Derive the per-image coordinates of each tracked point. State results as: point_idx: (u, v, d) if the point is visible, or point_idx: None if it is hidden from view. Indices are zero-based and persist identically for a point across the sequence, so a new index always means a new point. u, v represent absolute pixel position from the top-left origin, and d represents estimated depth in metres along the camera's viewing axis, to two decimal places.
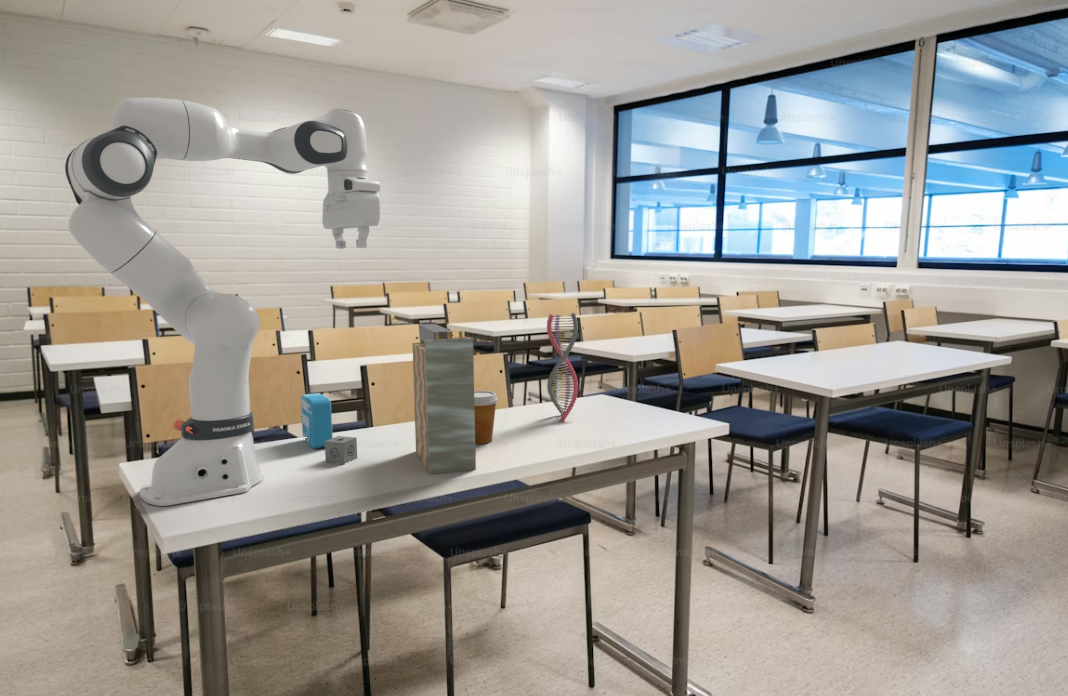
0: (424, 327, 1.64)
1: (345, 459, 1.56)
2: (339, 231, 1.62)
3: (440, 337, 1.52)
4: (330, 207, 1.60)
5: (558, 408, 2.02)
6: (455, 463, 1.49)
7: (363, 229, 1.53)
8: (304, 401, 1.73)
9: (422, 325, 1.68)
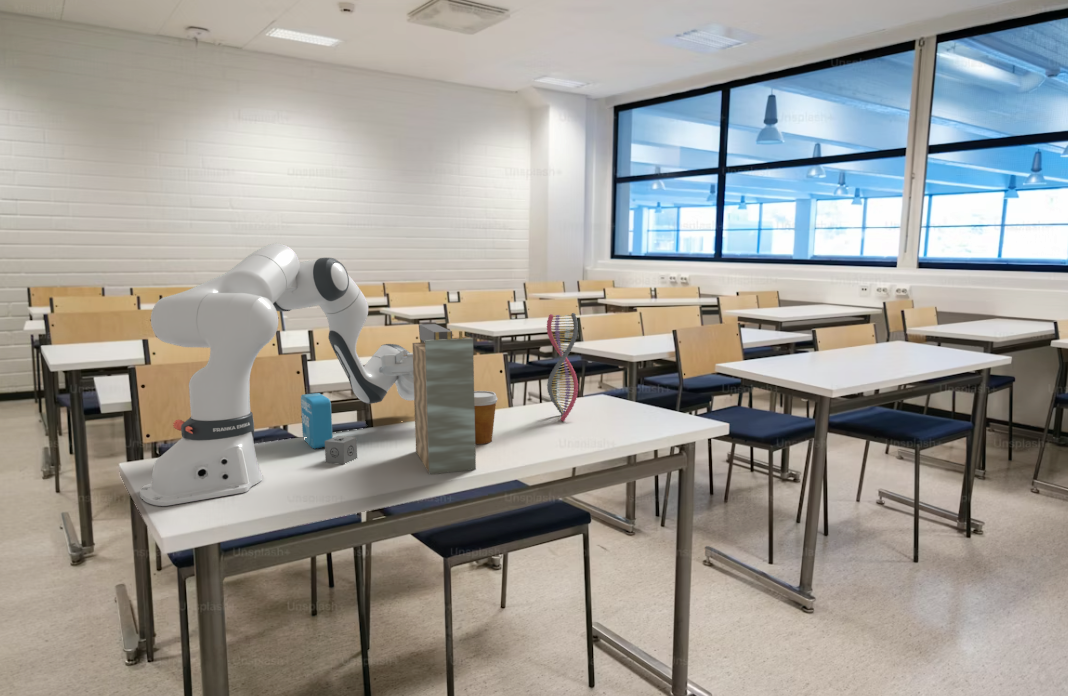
0: (424, 327, 1.64)
1: (345, 459, 1.56)
2: None
3: (440, 337, 1.52)
4: None
5: (558, 408, 2.02)
6: (455, 463, 1.49)
7: None
8: (304, 401, 1.73)
9: (422, 325, 1.68)
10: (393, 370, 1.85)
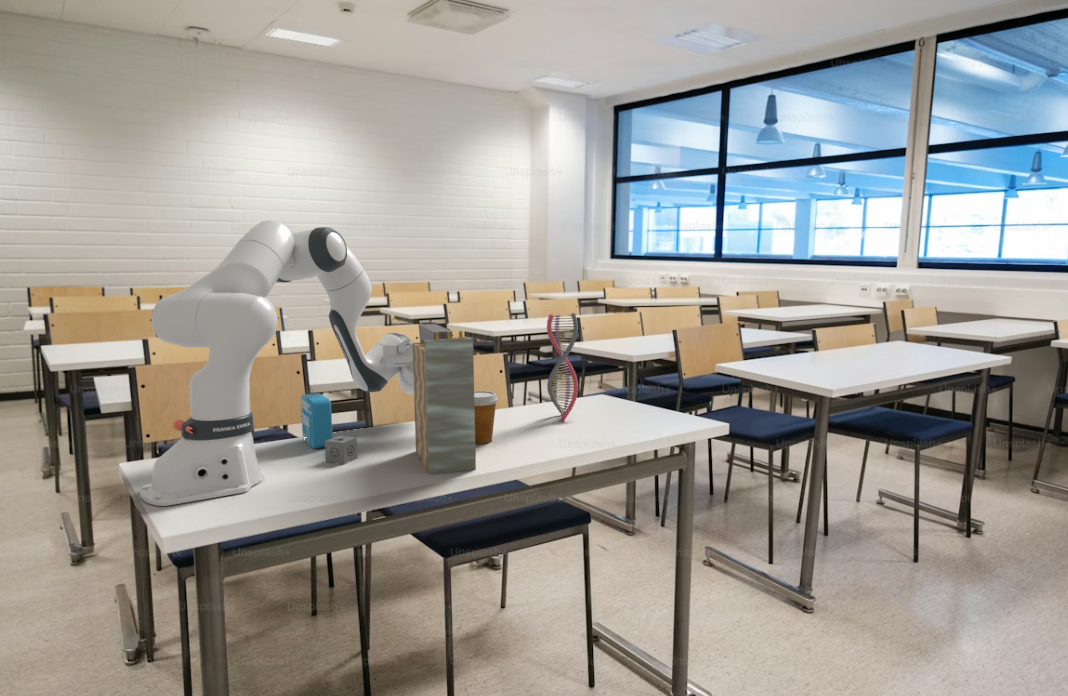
0: (424, 327, 1.64)
1: (345, 459, 1.56)
2: None
3: (440, 337, 1.52)
4: None
5: (558, 408, 2.02)
6: (455, 463, 1.49)
7: None
8: (304, 401, 1.73)
9: (422, 325, 1.68)
10: (395, 361, 1.78)
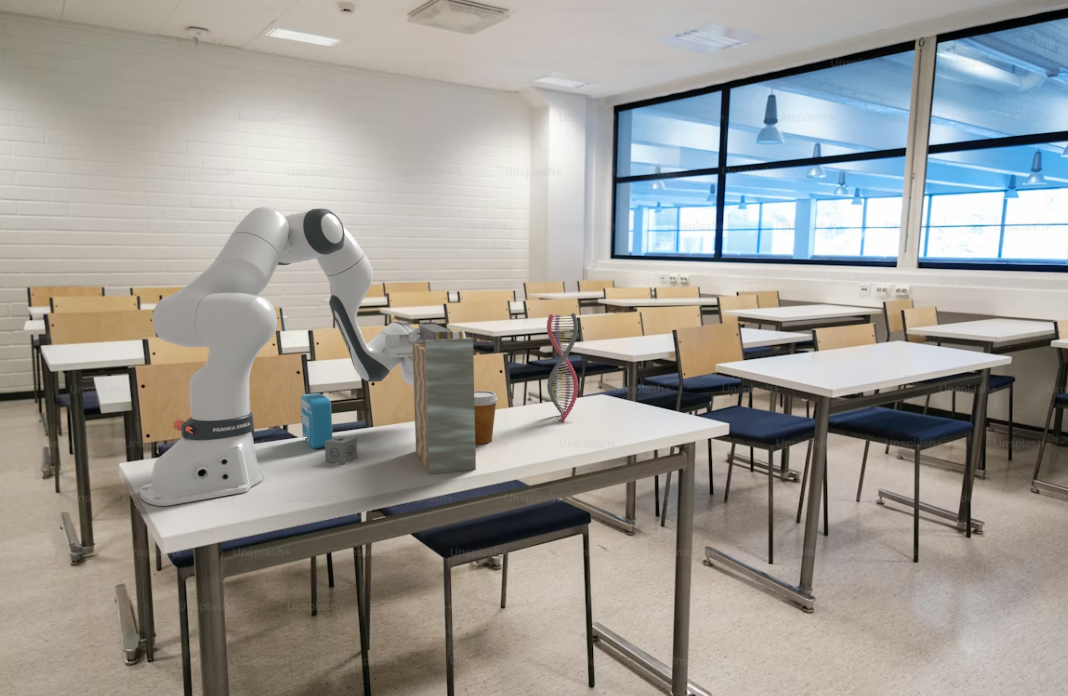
0: (424, 327, 1.64)
1: (345, 459, 1.56)
2: None
3: (440, 337, 1.52)
4: None
5: (558, 408, 2.02)
6: (455, 463, 1.49)
7: None
8: (304, 401, 1.73)
9: (422, 325, 1.68)
10: (397, 351, 1.73)
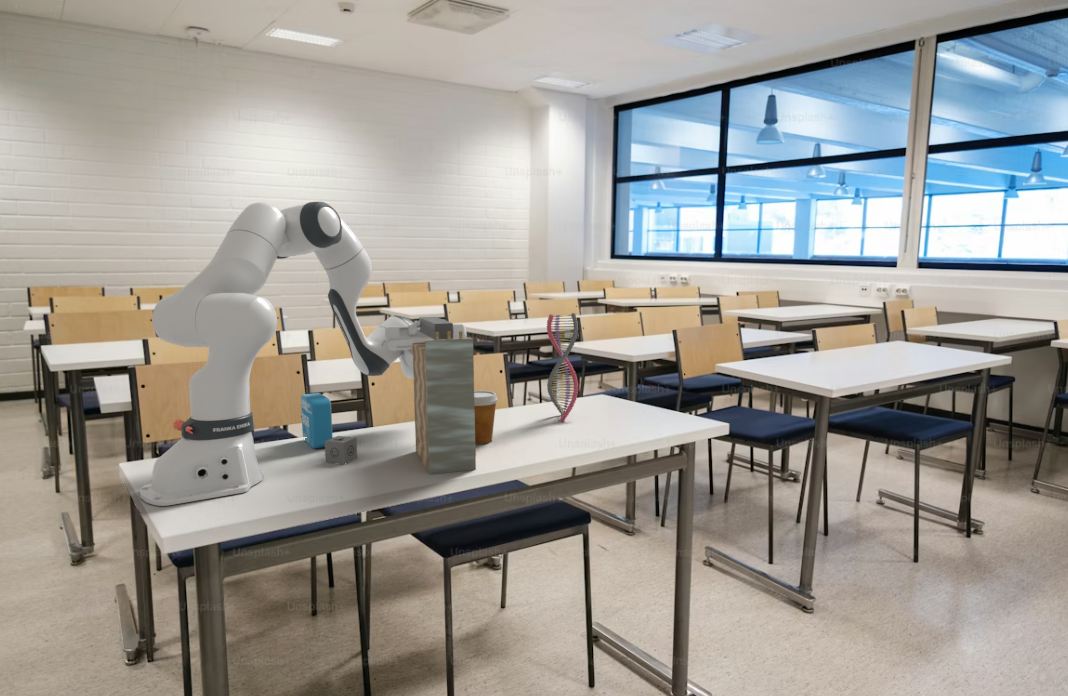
0: (424, 319, 1.63)
1: (345, 459, 1.56)
2: None
3: (441, 329, 1.51)
4: None
5: (558, 408, 2.02)
6: (455, 463, 1.49)
7: None
8: (304, 401, 1.73)
9: (422, 318, 1.67)
10: (397, 344, 1.72)
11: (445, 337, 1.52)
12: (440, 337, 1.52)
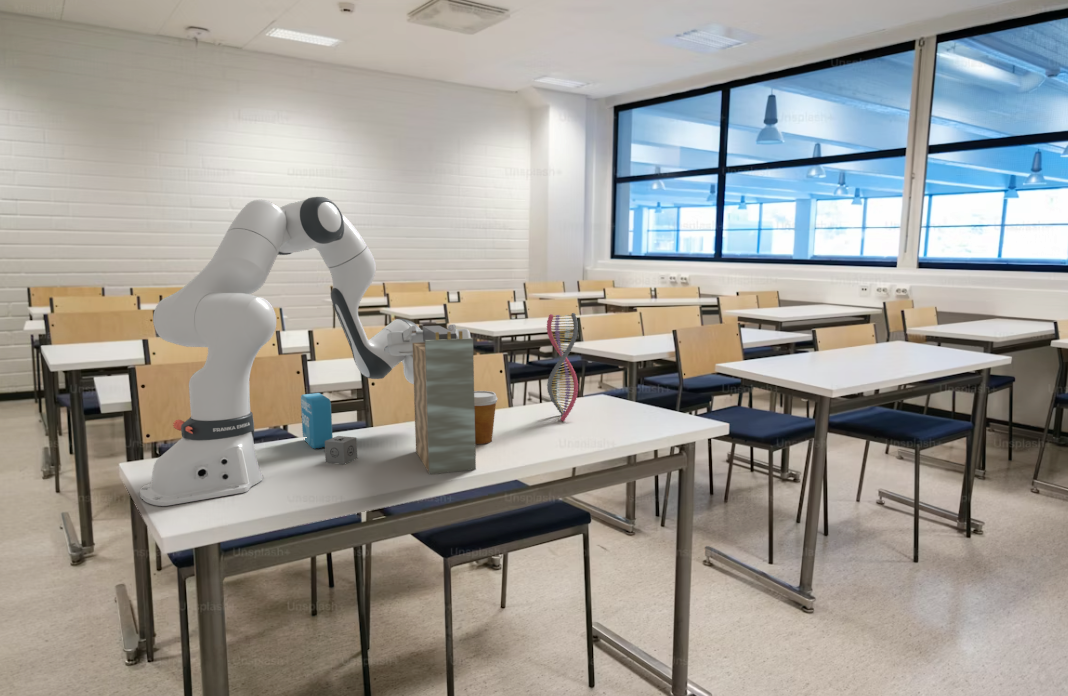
0: (427, 329, 1.59)
1: (345, 459, 1.56)
2: None
3: None
4: None
5: (558, 408, 2.02)
6: (455, 463, 1.49)
7: None
8: (304, 401, 1.73)
9: (425, 327, 1.64)
10: (400, 349, 1.68)
11: None
12: None
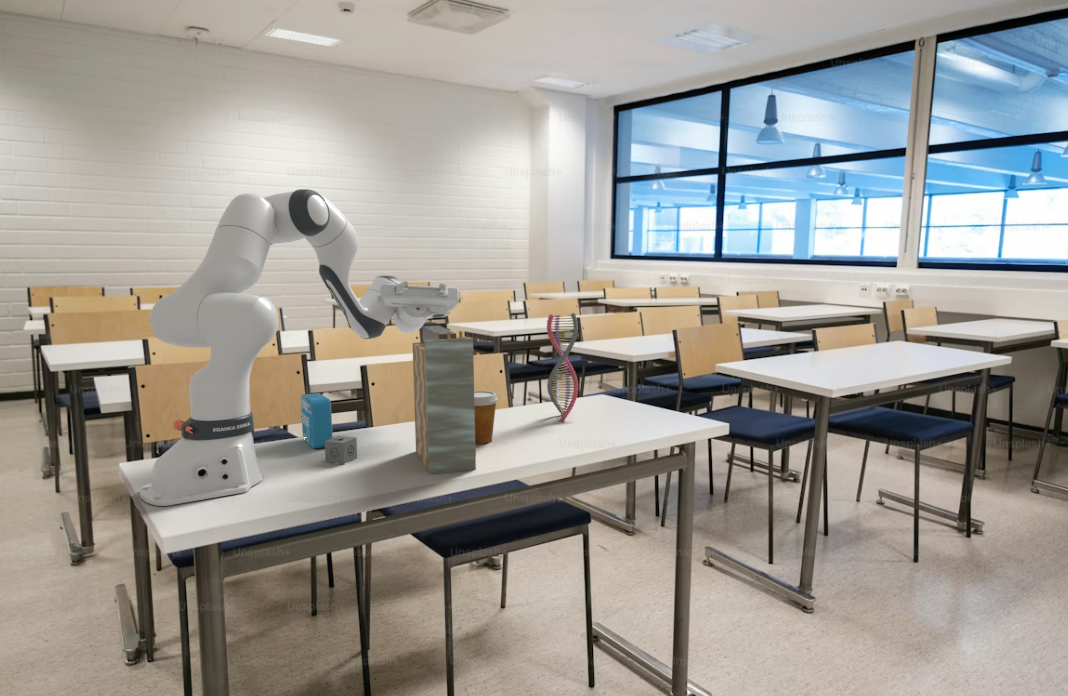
0: (427, 329, 1.59)
1: (345, 459, 1.56)
2: None
3: None
4: None
5: (558, 408, 2.02)
6: (455, 463, 1.49)
7: None
8: (304, 401, 1.73)
9: (425, 327, 1.64)
10: (392, 301, 1.78)
11: None
12: None
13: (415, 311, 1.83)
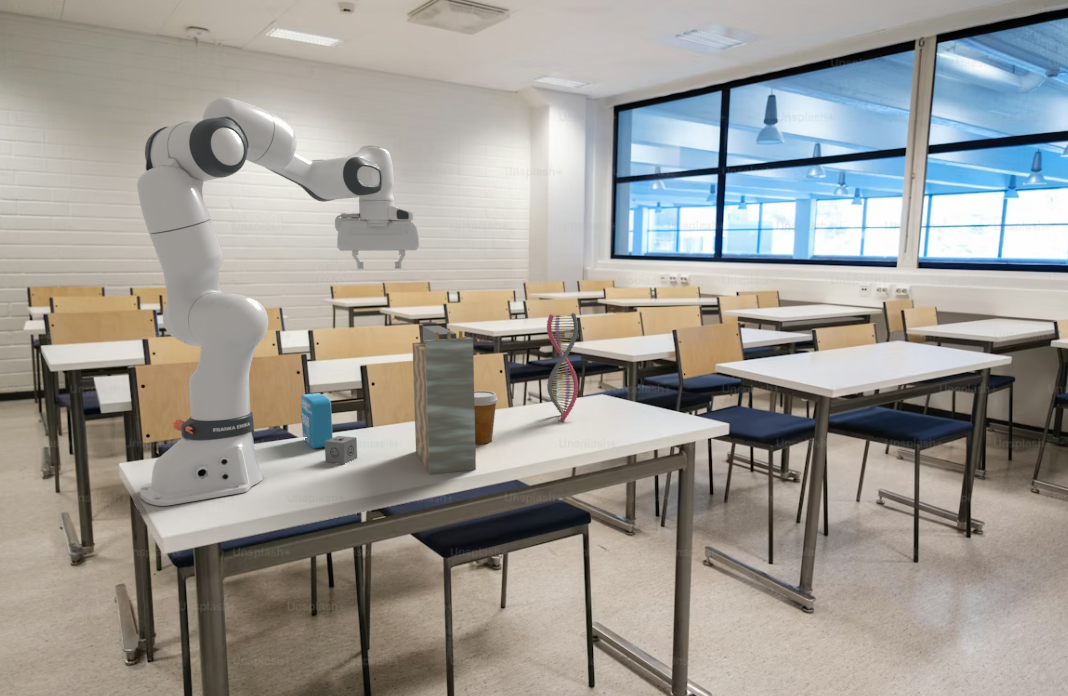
0: (427, 329, 1.59)
1: (345, 459, 1.56)
2: None
3: None
4: (354, 231, 1.73)
5: (558, 408, 2.02)
6: (455, 463, 1.49)
7: (404, 253, 1.79)
8: (304, 401, 1.73)
9: (425, 327, 1.64)
10: None
11: None
12: None
13: None
